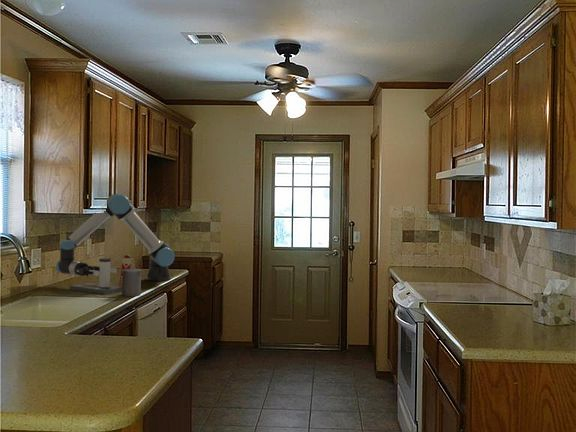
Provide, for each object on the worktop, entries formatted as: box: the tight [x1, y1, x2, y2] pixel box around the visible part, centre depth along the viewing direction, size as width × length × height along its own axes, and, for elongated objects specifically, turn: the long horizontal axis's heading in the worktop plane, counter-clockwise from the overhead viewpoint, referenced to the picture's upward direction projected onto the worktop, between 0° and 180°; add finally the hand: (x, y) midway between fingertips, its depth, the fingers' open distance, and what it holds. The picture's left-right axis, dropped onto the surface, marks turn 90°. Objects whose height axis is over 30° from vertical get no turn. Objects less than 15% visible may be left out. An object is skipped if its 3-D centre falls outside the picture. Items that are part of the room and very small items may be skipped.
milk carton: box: [117, 252, 136, 287], centre depth 334 cm, size 9×9×20 cm
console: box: [69, 282, 122, 295], centre depth 318 cm, size 26×14×2 cm, turn 64°
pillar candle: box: [121, 268, 142, 297], centre depth 307 cm, size 10×10×15 cm
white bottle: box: [98, 257, 112, 287], centre depth 315 cm, size 4×4×16 cm
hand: (107, 272), depth 314 cm, fingers open, 13 cm apart
